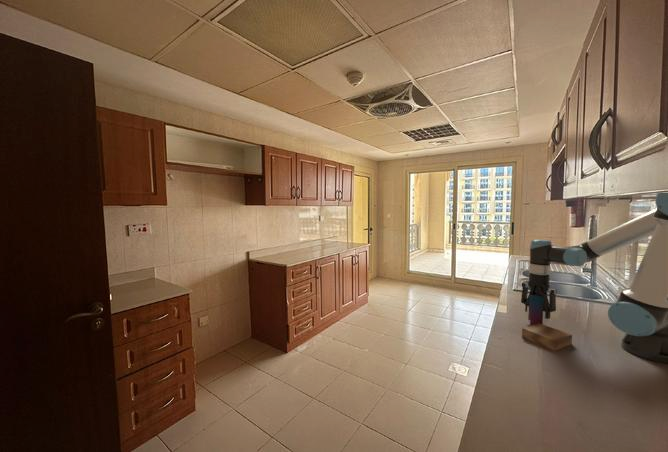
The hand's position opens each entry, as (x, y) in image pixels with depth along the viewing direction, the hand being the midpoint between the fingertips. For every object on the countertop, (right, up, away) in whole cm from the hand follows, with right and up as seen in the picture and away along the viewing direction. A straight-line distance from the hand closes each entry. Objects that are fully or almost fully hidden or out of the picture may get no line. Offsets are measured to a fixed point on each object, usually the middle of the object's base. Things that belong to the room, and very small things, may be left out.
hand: (536, 322), depth 125 cm
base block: (-7, -3, -14) cm, 16 cm away
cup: (0, -2, 0) cm, 2 cm away
